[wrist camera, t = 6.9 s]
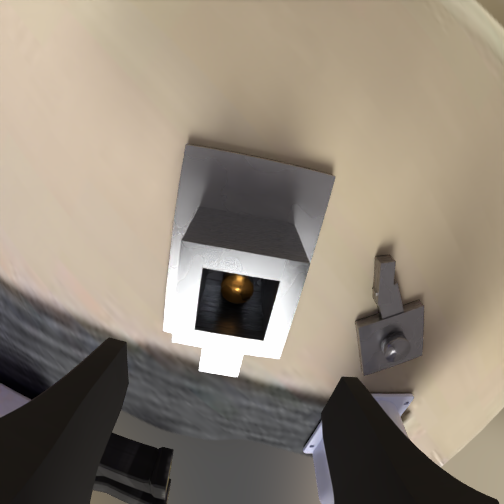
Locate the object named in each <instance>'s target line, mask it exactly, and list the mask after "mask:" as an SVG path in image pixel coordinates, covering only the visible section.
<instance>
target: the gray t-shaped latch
mask: <svg viewBox="0 0 504 504" xmlns="http://www.w3.org/2000/svg"><path fill="white" fill-rule="evenodd" d="M395 262H396V261H395V260H394V259H393V258H392V257H391V256H390V255H384V256H376V257H375V270H374V286H373V288H372V289H373V299H374V301H375V302H376V304H377V306H378V310H379V314H376V315H373V316H370V317H367V318H364V319H361V320H357V321H355V324H356V331H357V338H358V346H359V354H360V362H361V370H362V372H363V375H364V376H365V375H368V374H372V373H375V372H378V371H381V370H384V369H386V368H389V367H392V366H395V365H398V364H401V363H403V362H406V361H409V360H411V359H414V358H417V357H419V356H422V350H423V328H424V305H423V304H422V303H421V301H420V300H417V301H414V302H412V303H409V304H406V305H402V301H401V296H400V291H399V287H398V283H397V282H396V281H395V279H394V274H395Z"/></svg>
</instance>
